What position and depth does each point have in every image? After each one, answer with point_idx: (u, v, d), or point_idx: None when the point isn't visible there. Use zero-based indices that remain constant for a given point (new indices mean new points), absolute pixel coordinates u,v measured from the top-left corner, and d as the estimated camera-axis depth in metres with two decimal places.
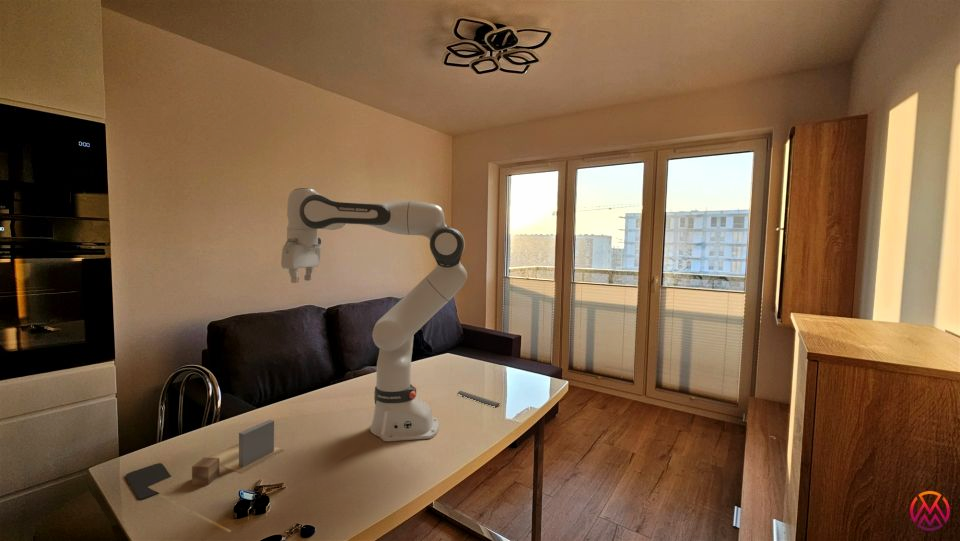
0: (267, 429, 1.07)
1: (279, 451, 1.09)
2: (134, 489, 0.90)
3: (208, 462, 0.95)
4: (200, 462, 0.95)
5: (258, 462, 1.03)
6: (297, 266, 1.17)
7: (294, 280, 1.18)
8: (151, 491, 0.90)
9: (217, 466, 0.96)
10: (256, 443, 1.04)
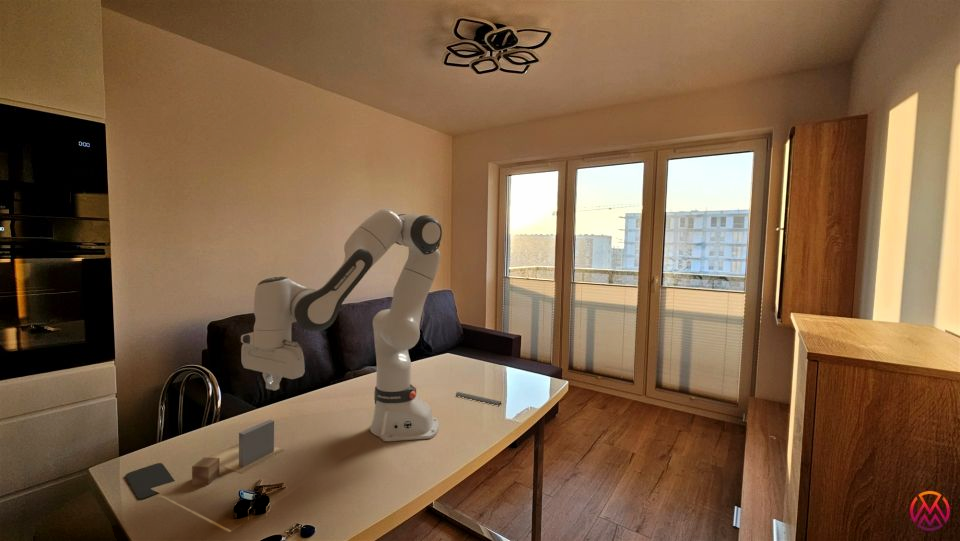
0: (267, 429, 1.07)
1: (279, 451, 1.09)
2: (134, 489, 0.90)
3: (208, 462, 0.95)
4: (200, 462, 0.95)
5: (258, 462, 1.03)
6: None
7: (277, 386, 1.01)
8: (151, 491, 0.90)
9: (217, 466, 0.96)
10: (256, 443, 1.04)
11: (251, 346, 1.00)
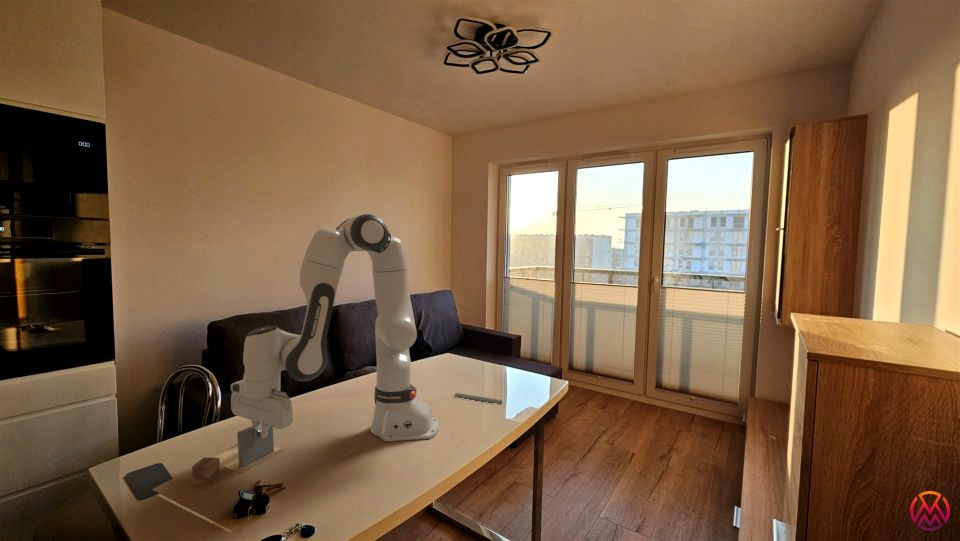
0: None
1: (279, 451, 1.09)
2: (134, 489, 0.90)
3: (208, 462, 0.95)
4: (200, 462, 0.95)
5: (258, 462, 1.03)
6: None
7: (265, 434, 1.03)
8: (151, 491, 0.90)
9: (217, 466, 0.96)
10: (255, 442, 1.04)
11: (240, 395, 1.03)
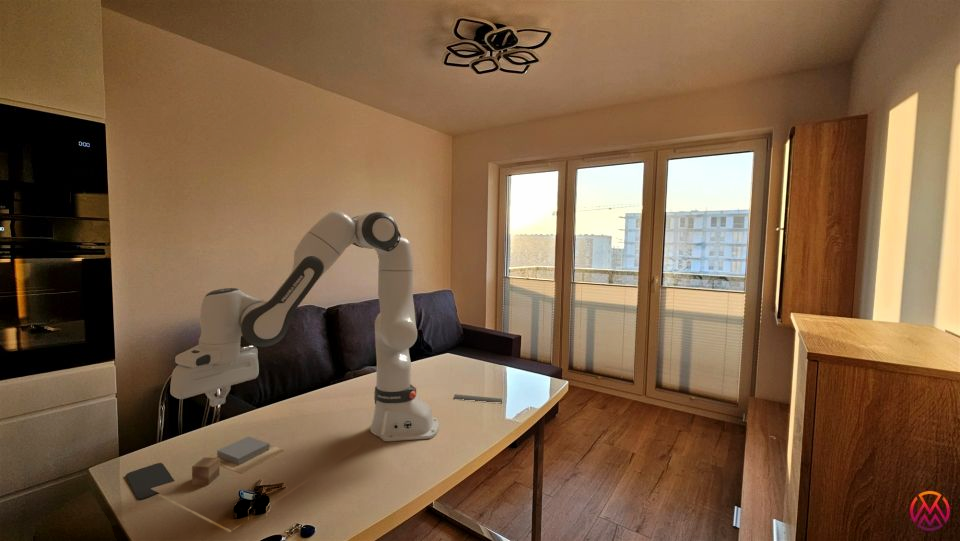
0: (245, 440, 1.11)
1: (279, 451, 1.09)
2: (134, 489, 0.90)
3: (208, 462, 0.95)
4: (200, 462, 0.95)
5: (258, 462, 1.03)
6: None
7: None
8: (151, 491, 0.90)
9: (217, 466, 0.96)
10: (240, 448, 1.07)
11: (207, 366, 0.92)
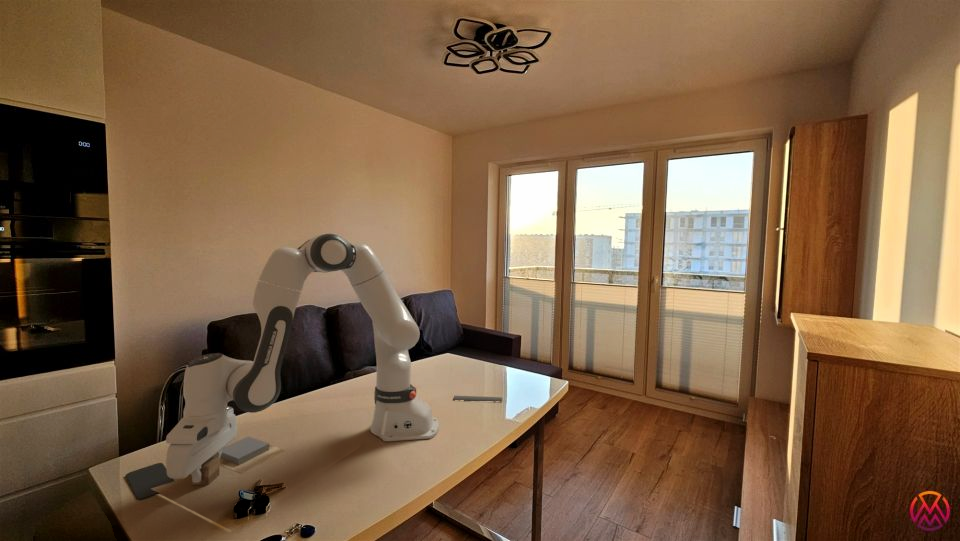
0: (245, 440, 1.11)
1: (279, 451, 1.09)
2: (134, 489, 0.90)
3: (208, 462, 0.95)
4: None
5: (258, 462, 1.03)
6: None
7: None
8: (150, 491, 0.90)
9: (217, 466, 0.96)
10: (240, 448, 1.07)
11: (204, 438, 0.90)
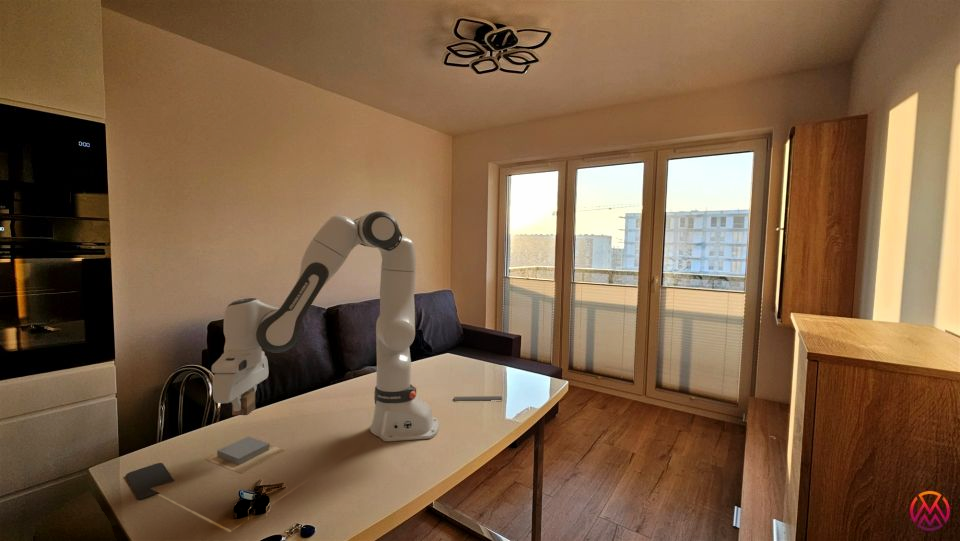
0: (245, 440, 1.11)
1: (279, 451, 1.09)
2: (134, 489, 0.90)
3: (246, 394, 1.06)
4: None
5: (258, 462, 1.03)
6: None
7: None
8: (150, 491, 0.90)
9: (253, 399, 1.07)
10: (240, 448, 1.07)
11: (244, 370, 1.01)
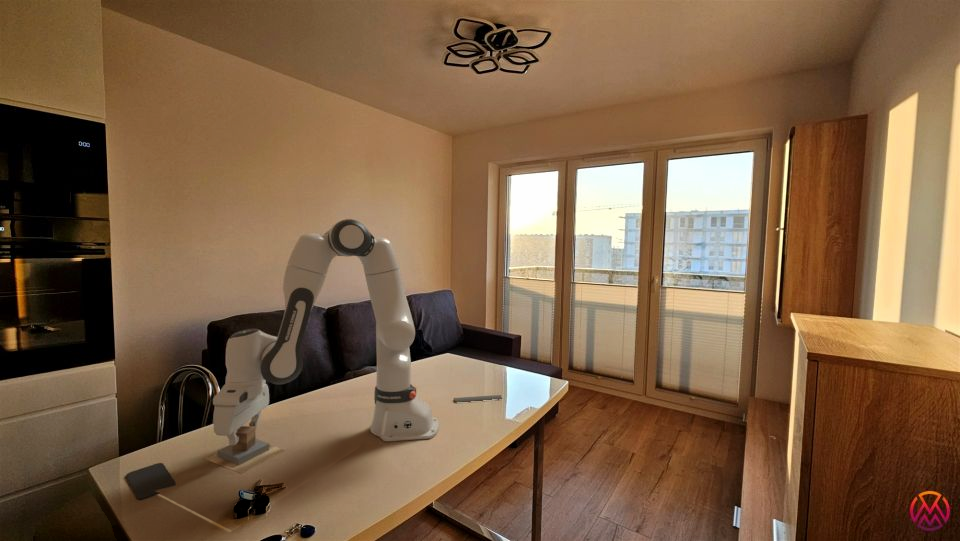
0: None
1: (279, 451, 1.09)
2: (134, 489, 0.90)
3: (246, 430, 1.07)
4: (239, 429, 1.07)
5: (258, 462, 1.03)
6: None
7: None
8: (150, 491, 0.90)
9: (253, 434, 1.08)
10: None
11: (244, 402, 1.02)
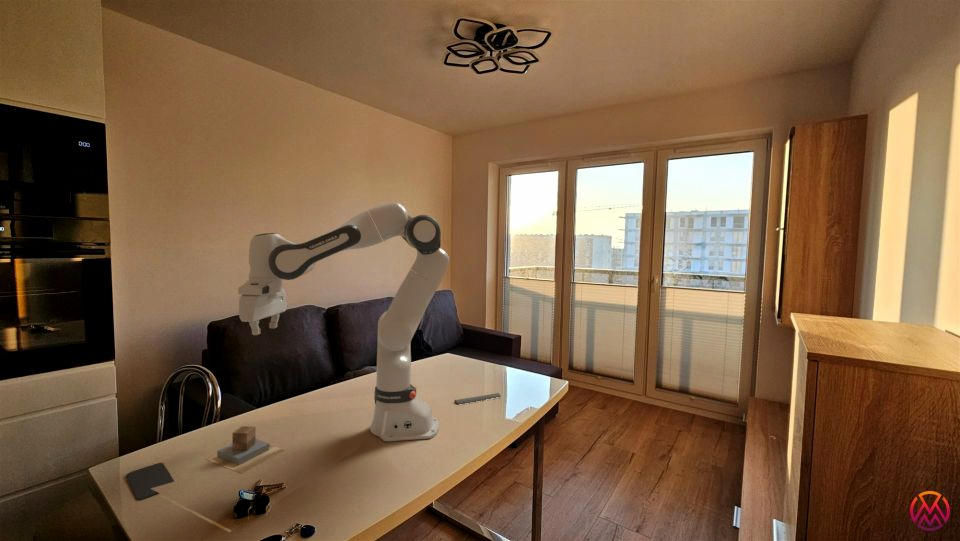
0: None
1: (279, 451, 1.09)
2: (134, 489, 0.90)
3: (246, 430, 1.07)
4: (239, 429, 1.07)
5: (258, 462, 1.03)
6: None
7: None
8: (150, 491, 0.90)
9: (253, 434, 1.08)
10: None
11: (266, 295, 1.11)
